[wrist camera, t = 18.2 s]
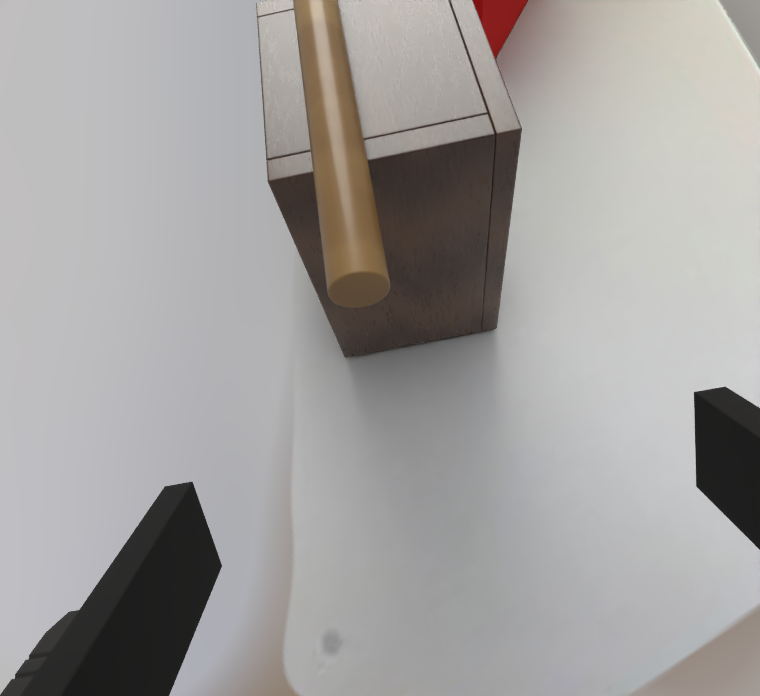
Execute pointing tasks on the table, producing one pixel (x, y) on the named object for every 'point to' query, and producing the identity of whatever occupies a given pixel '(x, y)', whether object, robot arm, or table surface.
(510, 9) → the red rounded slab
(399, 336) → the divided box with dowel
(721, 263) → the table surface
